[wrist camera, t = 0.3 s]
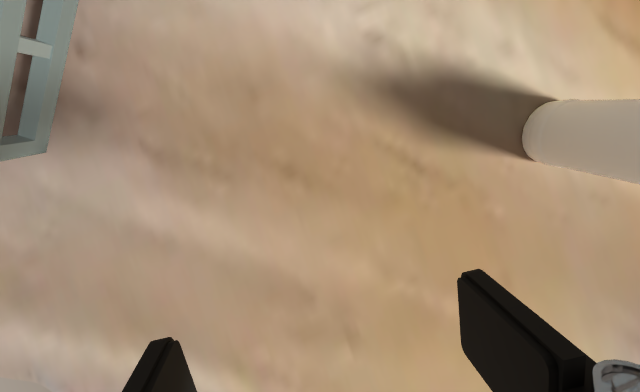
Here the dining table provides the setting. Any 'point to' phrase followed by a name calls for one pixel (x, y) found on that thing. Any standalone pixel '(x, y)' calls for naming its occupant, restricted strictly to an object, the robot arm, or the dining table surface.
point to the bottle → (587, 137)
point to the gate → (33, 71)
